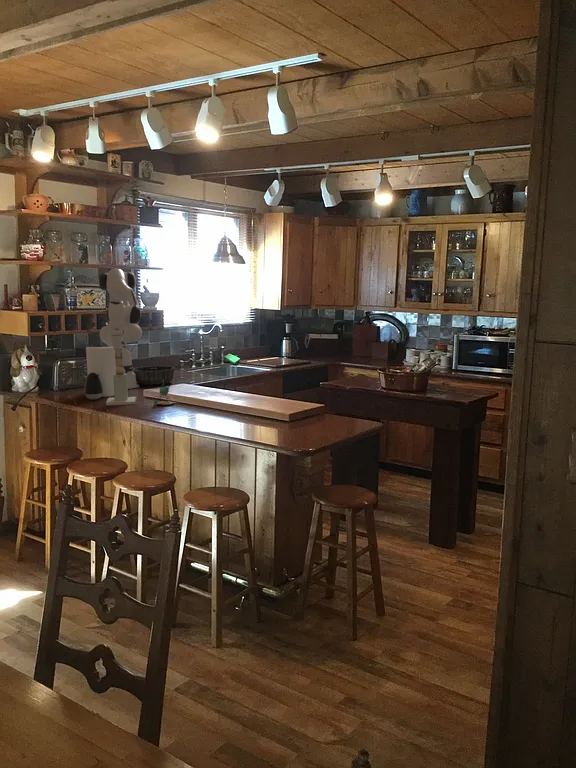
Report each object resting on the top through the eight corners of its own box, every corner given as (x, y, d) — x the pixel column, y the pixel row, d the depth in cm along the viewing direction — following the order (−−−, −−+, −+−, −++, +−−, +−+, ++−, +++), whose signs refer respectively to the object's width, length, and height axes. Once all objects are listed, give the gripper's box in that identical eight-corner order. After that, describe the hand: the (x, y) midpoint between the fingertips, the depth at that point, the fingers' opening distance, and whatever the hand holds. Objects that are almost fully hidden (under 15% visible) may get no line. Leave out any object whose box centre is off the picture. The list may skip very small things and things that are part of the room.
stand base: (108, 400, 382) (107, 372, 379) (136, 399, 384) (134, 372, 382) (106, 405, 367) (104, 376, 365) (134, 404, 370) (133, 375, 367)
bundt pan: (124, 385, 432) (124, 369, 430) (148, 379, 456) (148, 364, 454) (160, 387, 422) (159, 371, 420) (182, 381, 446) (182, 366, 444)
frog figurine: (143, 406, 363) (144, 379, 362) (170, 405, 376) (171, 378, 375) (154, 408, 356) (155, 380, 355) (181, 407, 370) (182, 380, 369)
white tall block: (114, 396, 393) (112, 348, 389) (84, 396, 394) (81, 348, 389) (122, 391, 410) (120, 345, 406) (93, 391, 411) (91, 345, 406)
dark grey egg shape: (92, 401, 380) (90, 374, 377) (81, 399, 386) (79, 372, 384) (107, 398, 388) (105, 372, 385) (95, 396, 394) (94, 370, 392)
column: (115, 387, 377) (113, 340, 373) (126, 386, 378) (124, 340, 374) (114, 389, 371) (112, 341, 367) (125, 388, 372) (123, 341, 368)
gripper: (113, 329, 379) (114, 354, 381) (110, 332, 359) (111, 358, 361) (124, 329, 380) (126, 353, 382) (122, 332, 360) (123, 358, 362)
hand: (119, 356), depth 372 cm, fingers open, 5 cm apart
